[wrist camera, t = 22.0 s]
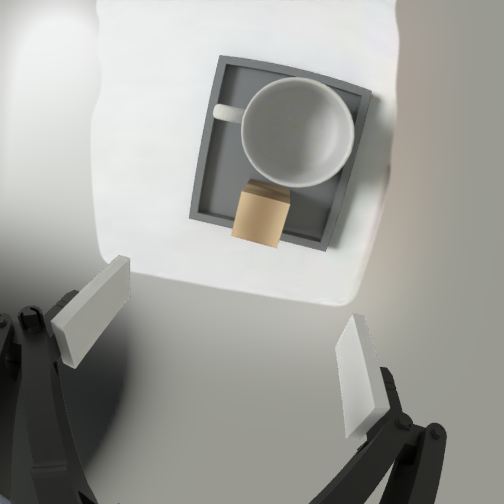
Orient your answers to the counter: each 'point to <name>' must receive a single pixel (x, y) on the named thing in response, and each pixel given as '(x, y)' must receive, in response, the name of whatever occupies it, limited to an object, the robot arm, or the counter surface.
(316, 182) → the teacup
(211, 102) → the tray
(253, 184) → the oak block
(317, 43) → the counter surface
